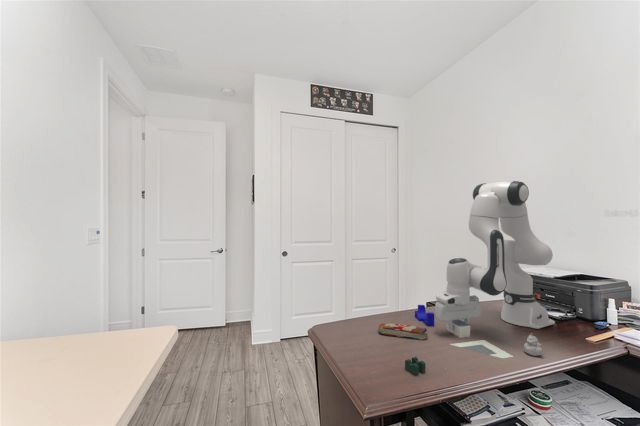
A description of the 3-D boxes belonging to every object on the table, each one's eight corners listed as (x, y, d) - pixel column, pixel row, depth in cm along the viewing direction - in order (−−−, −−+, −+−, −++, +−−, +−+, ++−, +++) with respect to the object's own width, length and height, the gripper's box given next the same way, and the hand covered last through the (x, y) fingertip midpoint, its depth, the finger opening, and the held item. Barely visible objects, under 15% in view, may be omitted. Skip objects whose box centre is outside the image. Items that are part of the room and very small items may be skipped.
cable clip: (414, 316, 135) (414, 304, 135) (423, 316, 135) (423, 304, 135) (424, 327, 123) (424, 313, 123) (434, 326, 123) (434, 313, 123)
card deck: (456, 329, 120) (456, 317, 120) (470, 337, 112) (470, 325, 112) (446, 330, 119) (446, 318, 119) (459, 338, 111) (459, 326, 111)
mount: (421, 368, 90) (421, 353, 90) (432, 375, 86) (432, 359, 86) (397, 378, 85) (397, 362, 85) (408, 386, 81) (408, 369, 81)
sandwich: (383, 327, 123) (383, 316, 123) (429, 336, 113) (429, 324, 113) (376, 336, 113) (376, 325, 113) (425, 348, 104) (425, 335, 104)
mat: (483, 341, 109) (483, 339, 109) (513, 358, 96) (513, 356, 96) (444, 346, 105) (444, 344, 105) (470, 364, 92) (470, 362, 92)
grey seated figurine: (519, 352, 100) (519, 330, 100) (531, 349, 102) (531, 328, 102) (535, 359, 95) (535, 337, 95) (547, 356, 97) (547, 334, 97)
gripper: (472, 292, 121) (472, 323, 121) (432, 296, 117) (432, 328, 117) (484, 297, 115) (484, 329, 115) (442, 300, 110) (442, 334, 110)
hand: (458, 329), depth 116 cm, fingers closed on card deck, 5 cm apart
